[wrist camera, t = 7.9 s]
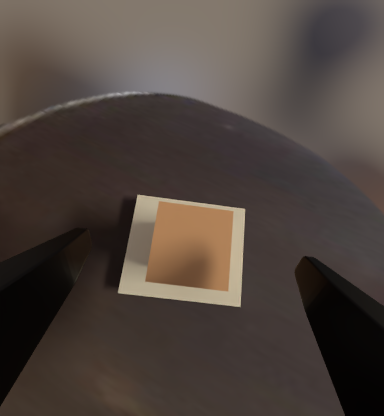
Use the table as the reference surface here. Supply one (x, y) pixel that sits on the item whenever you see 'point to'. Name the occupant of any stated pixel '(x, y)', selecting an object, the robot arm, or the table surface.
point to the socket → (136, 285)
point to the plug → (191, 247)
